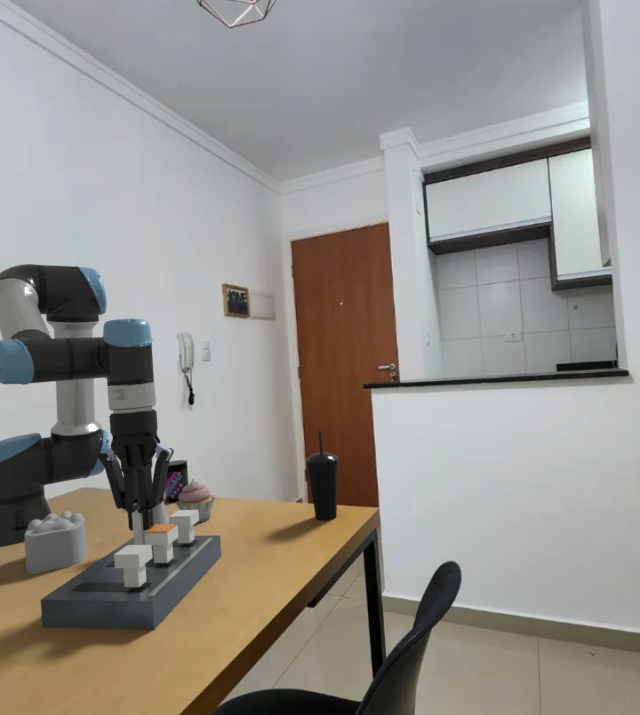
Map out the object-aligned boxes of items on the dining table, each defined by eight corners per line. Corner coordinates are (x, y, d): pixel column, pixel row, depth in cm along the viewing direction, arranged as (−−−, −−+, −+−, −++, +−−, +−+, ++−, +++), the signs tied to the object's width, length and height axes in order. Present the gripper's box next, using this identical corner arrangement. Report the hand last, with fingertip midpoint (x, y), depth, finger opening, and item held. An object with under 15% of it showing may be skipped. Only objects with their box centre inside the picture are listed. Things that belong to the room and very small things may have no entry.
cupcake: (192, 512, 122) (189, 473, 122) (223, 514, 118) (220, 474, 119) (168, 525, 113) (165, 483, 113) (201, 527, 110) (198, 484, 110)
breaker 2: (171, 544, 88) (169, 516, 88) (180, 537, 91) (178, 510, 91) (192, 544, 87) (189, 516, 87) (200, 537, 90) (198, 509, 90)
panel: (42, 626, 71) (40, 599, 71) (136, 556, 95) (134, 536, 95) (154, 629, 67) (152, 600, 67) (221, 556, 92) (219, 535, 92)
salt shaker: (162, 549, 98) (157, 486, 98) (137, 549, 99) (132, 486, 99) (176, 538, 104) (172, 478, 104) (152, 538, 105) (148, 479, 105)
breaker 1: (116, 589, 71) (114, 554, 71) (130, 578, 74) (127, 545, 74) (141, 589, 70) (138, 554, 70) (154, 578, 74) (151, 544, 74)
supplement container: (161, 500, 136) (158, 463, 136) (183, 494, 141) (180, 459, 141) (171, 504, 131) (168, 466, 131) (194, 498, 136) (191, 461, 136)
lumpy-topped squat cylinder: (22, 576, 90) (19, 530, 90) (36, 552, 102) (33, 512, 102) (83, 564, 93) (80, 520, 94) (89, 542, 106) (87, 503, 106)
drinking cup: (332, 524, 105) (325, 433, 105) (303, 520, 109) (296, 433, 109) (348, 513, 111) (342, 428, 112) (321, 510, 115) (314, 427, 116)
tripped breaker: (147, 564, 79) (144, 531, 79) (158, 555, 83) (155, 524, 83) (169, 564, 78) (167, 531, 79) (179, 555, 82) (177, 523, 82)
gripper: (84, 414, 79) (94, 558, 79) (156, 410, 77) (167, 557, 76) (111, 409, 86) (121, 540, 86) (178, 405, 84) (188, 540, 84)
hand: (143, 548), depth 81 cm, fingers closed
